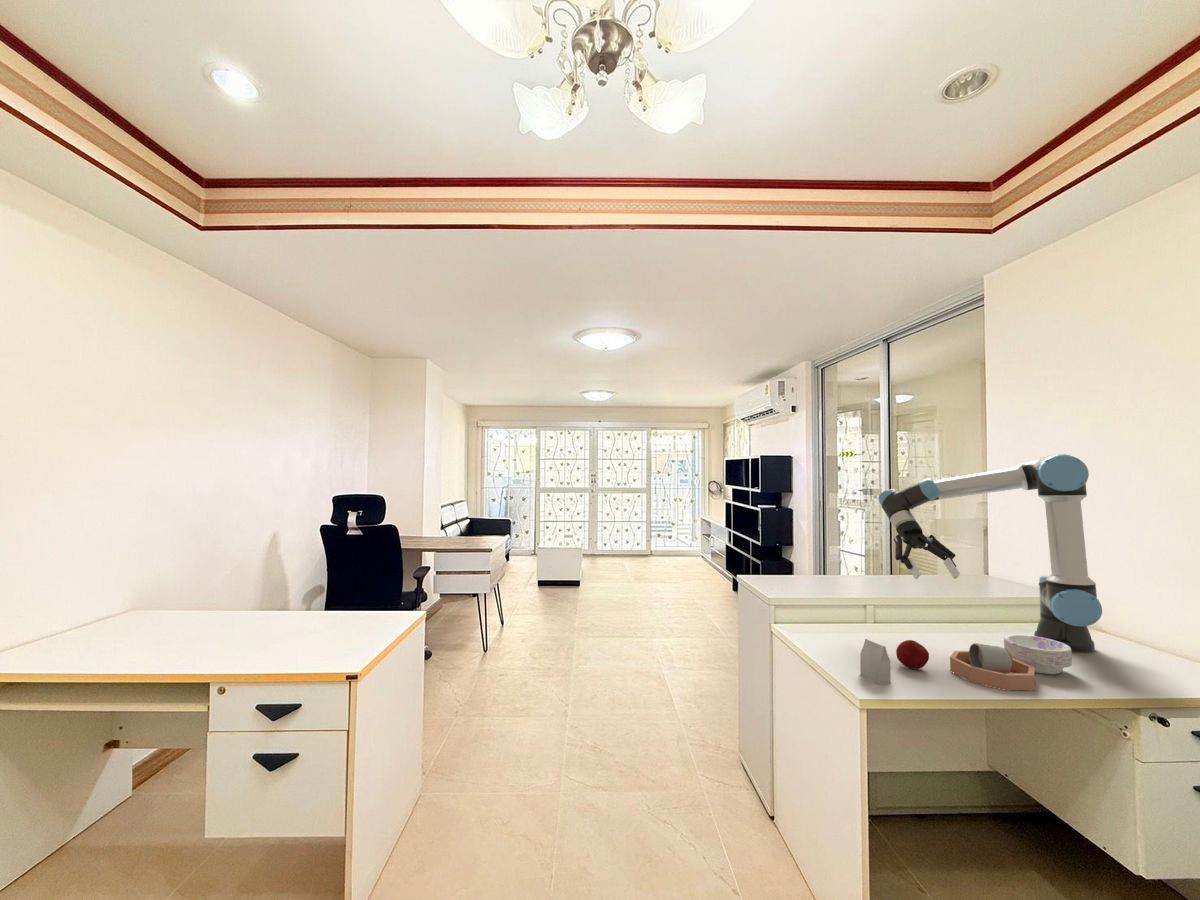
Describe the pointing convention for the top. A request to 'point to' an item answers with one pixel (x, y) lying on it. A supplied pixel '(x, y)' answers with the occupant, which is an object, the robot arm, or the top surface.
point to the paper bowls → (1039, 653)
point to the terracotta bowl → (994, 673)
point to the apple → (912, 654)
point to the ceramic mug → (990, 658)
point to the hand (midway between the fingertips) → (937, 576)
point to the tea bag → (875, 663)
